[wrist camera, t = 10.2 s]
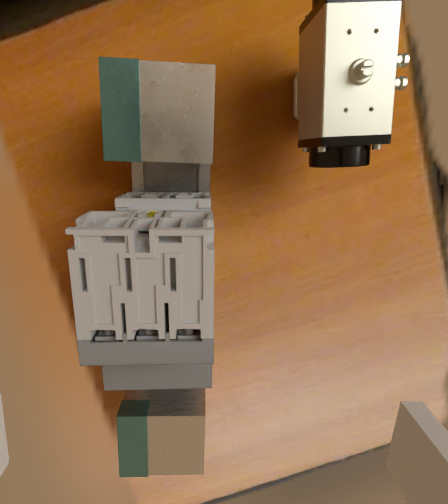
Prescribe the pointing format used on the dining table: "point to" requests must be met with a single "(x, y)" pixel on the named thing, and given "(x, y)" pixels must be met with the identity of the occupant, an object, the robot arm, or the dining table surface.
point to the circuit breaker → (146, 290)
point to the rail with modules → (160, 180)
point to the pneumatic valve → (347, 80)
